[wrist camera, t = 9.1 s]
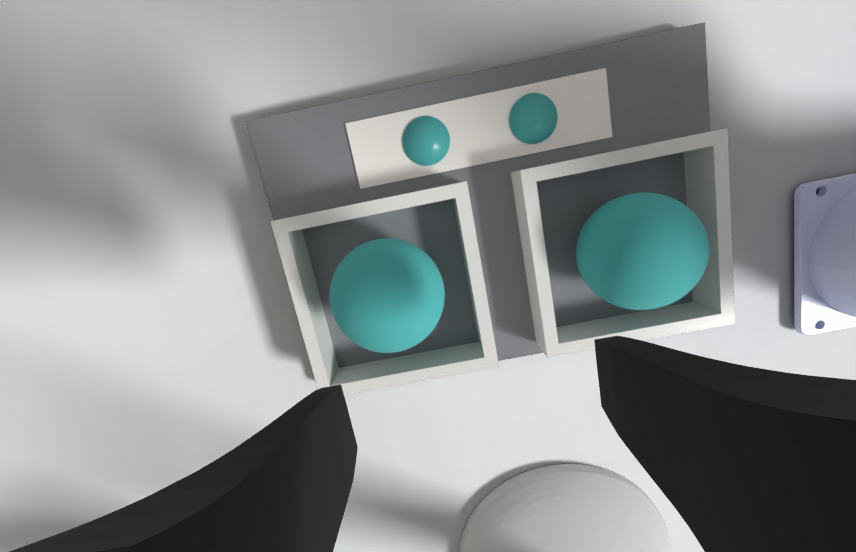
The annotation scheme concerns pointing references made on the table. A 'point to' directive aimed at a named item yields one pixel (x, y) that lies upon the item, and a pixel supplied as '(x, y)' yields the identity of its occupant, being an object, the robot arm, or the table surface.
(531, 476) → the candlestick
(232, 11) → the table surface
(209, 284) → the table surface
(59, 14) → the table surface
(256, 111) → the table surface
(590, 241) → the seated teal ball
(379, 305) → the loose teal ball
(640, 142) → the sorting tray
